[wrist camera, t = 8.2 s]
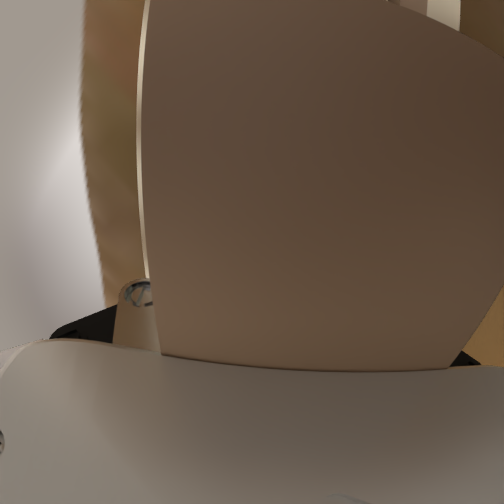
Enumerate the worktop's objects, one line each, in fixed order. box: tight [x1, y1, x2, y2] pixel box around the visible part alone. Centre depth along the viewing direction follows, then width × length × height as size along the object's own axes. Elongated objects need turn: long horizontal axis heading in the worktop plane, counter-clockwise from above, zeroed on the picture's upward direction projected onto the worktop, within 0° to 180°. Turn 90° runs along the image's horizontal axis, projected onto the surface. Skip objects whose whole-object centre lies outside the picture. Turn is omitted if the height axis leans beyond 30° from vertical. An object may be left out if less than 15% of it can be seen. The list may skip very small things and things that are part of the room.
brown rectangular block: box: [141, 0, 504, 372], centre depth 9 cm, size 14×5×9 cm, turn 174°
